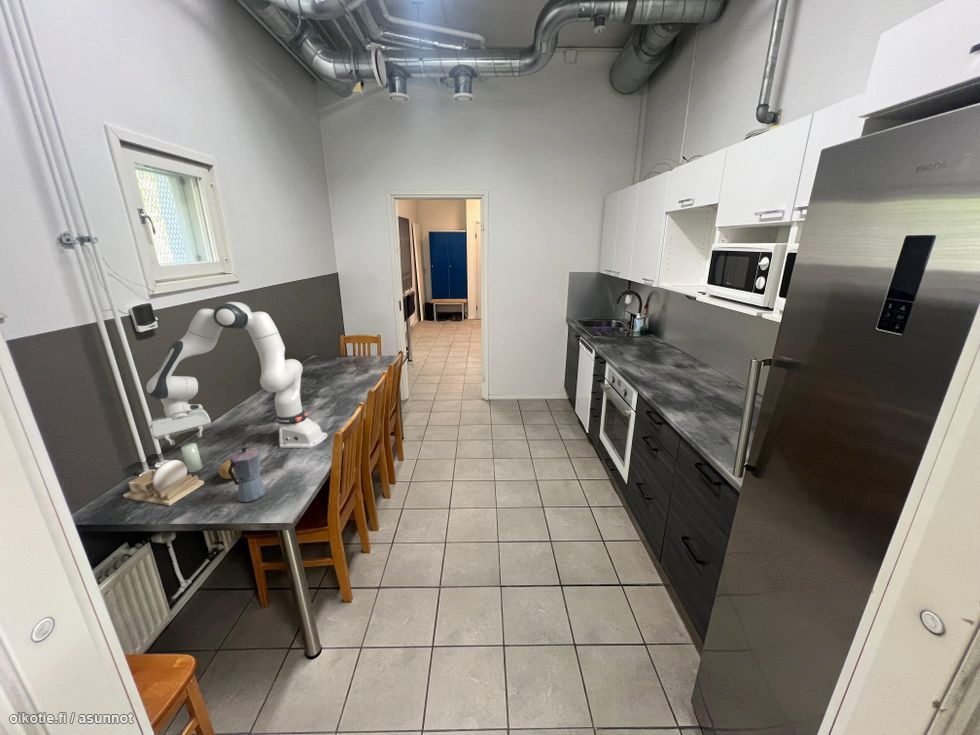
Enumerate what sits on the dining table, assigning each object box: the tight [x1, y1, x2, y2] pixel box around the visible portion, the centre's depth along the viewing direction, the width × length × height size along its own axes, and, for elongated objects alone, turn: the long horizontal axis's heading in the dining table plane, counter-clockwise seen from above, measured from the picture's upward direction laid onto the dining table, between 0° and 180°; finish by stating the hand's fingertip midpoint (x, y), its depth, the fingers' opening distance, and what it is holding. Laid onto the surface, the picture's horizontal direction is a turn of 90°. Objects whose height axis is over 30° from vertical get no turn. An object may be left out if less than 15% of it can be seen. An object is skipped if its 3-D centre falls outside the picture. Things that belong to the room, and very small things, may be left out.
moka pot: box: [228, 447, 266, 503], centre depth 142 cm, size 10×15×20 cm, turn 2°
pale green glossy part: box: [180, 442, 203, 473], centre depth 162 cm, size 5×5×11 cm
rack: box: [123, 459, 205, 506], centre depth 147 cm, size 22×14×13 cm, turn 77°
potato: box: [218, 458, 238, 480], centre depth 158 cm, size 10×14×8 cm
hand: (186, 440), depth 165 cm, fingers open, 8 cm apart
